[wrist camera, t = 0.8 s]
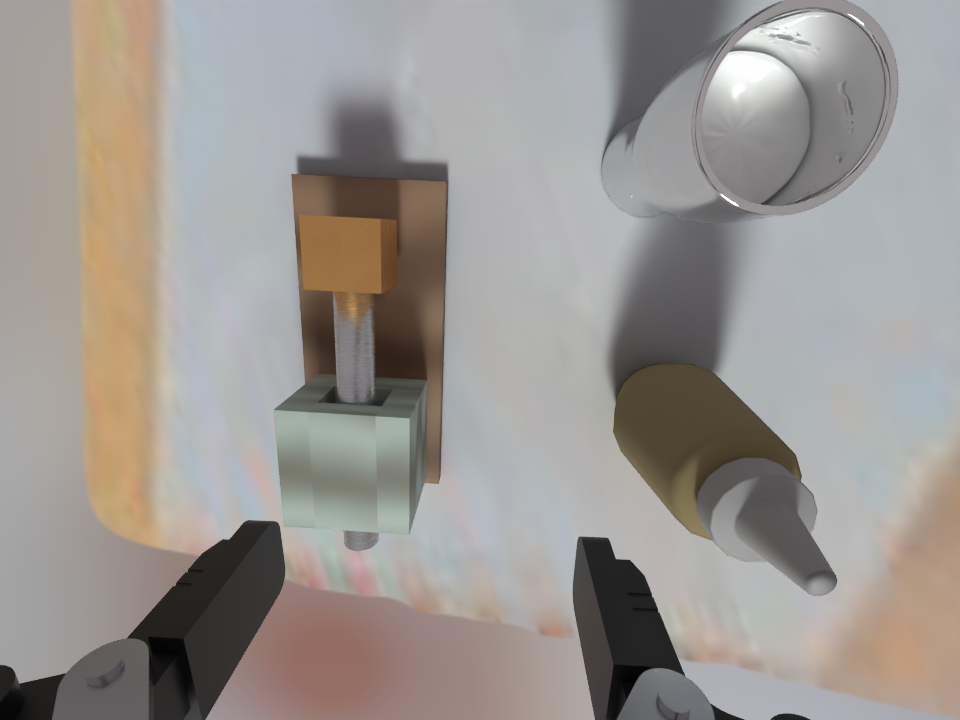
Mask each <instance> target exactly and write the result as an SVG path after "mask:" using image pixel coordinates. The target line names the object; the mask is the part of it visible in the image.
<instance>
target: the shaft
mask: <svg viewBox="0 0 960 720" xmlns="http://www.w3.org/2000/svg"><path fill="white" fill-rule="evenodd" d="M299 226H300V241H301V257H302V273H303V288H304V290H321V291H333V308H334V330H335V352H336V375H337V397H338V404H350V405H367V406H376V370H375V317H374V293H376V294H382V293H384V292H385V291H387V290H389V289H391V288H392V287H394V286H396V285H397V220H390V219H374V218H354V217H334V216H314V215H299ZM378 539H379V533H374V532H359V531H344V544H345V546H346V547H347V548H349V549H351V550H355V551H361V550H366V549H369V548H371V547H373V546H374V545H375V544H376V543H377V541H378Z"/></svg>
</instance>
